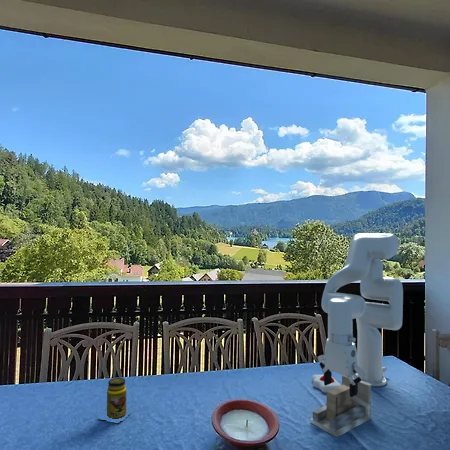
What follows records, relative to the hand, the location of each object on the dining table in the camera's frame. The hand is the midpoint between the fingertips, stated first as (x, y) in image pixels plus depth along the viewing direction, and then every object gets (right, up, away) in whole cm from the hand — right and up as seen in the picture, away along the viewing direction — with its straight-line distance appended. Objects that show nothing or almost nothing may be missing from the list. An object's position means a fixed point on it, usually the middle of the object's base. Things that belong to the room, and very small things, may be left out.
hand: (340, 389), depth 118 cm
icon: (+2, -11, +25) cm, 28 cm away
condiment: (-73, -9, +1) cm, 74 cm away
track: (0, -10, 0) cm, 10 cm away
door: (-1, -9, -1) cm, 9 cm away
